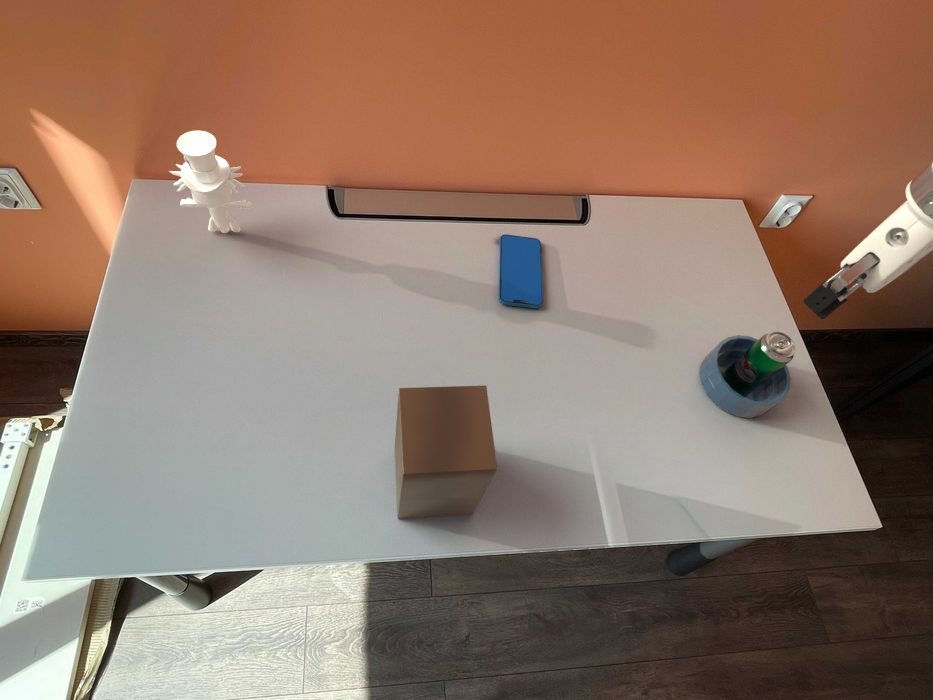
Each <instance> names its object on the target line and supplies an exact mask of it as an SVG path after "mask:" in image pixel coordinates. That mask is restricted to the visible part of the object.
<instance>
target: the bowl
mask: <svg viewBox="0 0 933 700" xmlns="http://www.w3.org/2000/svg"><path fill="white" fill-rule="evenodd" d="M758 340H759V338H755V337H752V336H750V335H749V336H748V335H732V336H727V337H726V338H724V339H723V340H721V341H720V342H718V344H716V346H715V347H713V348H712V350H711V351H710V352H709V353H708V354H706V356H705V357H704V359H702V362H701V364H700V368H699V378H700V383H701V385H702V388H703V389H704V392H705V393H706V395H707V397H708V398H709V399H710V400H711V401H712V402H713V403H714V404H715V405H716V406H717V407H719V408H720V409H721V410H723V411H725V412H726V413H728V414H731V415H733V416H735V417H739V418H749V419H752V418H756V417H761V416H763V415H764V414H765V413H767V412H768V411H769V410H771V409H773V408H774V407H775V406H777V405H778V404H779V403H780V402H782V401H783V400H785V399H786V398H787V396H788V394H789V392H790V391H791V381H792V378H791V374H790V371H789V368H788V365H787V364H786V365H785V366H784V367H782V368H781V369H780V370H779V371H777V372H776V373H775V374H774V375H772V376H771V377H770V378H769V379H767V380H766V381H765V382H764V383H762V384H761V385H760V386H759V387H757V388H756V389H755V390H754V391H752V392H751V393H750V394H747V395H740V394H738V393H737V392H735V391H734V390H733V389H732V388H731V387H730V386H729V385H728V384H727V383H726V382H725V381H724V378H723V375H724V372H725V370H726V369H728V368H729V367H730V366H731V365H732V364H733V363H734V362H735V361H736V360H737V359H738V358H739V357H741V356H742V355H743V354H744V353H745V352H746V351H747V350H748V349H749V348H750V347H751V346H752V345H754V344H755V343H756V342H757V341H758Z"/></svg>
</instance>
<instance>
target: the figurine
mask: <svg viewBox="0 0 933 700" xmlns="http://www.w3.org/2000/svg"><path fill="white" fill-rule="evenodd" d="M176 148H177V151H179V152H180V154H182V156H183V160H184V162H183V163H182V165H181V164H179V163H176V164H175V166H176V167H177V168H179V169H180V170H175V171H173V170H168V172H169V173H170V174H171V175H173V176H176V177H180V178H179V179H178V180H177V181H175V182H174V183H173V186H174V187H179V188H178V189H177V190H176V192H178V193H179V192H182V191H183V190H185V189H186V188H189V189H190V193H191V197H192V198H190V197H187V198H186V199H184V198H181V200H180V202H179V206H180V207H181V208H189V209H193V208H207V209H208V211H209V214H210V218H209V221H208V228H207V229H208V231H209V232H212V233H214V232H217V231H218V230H220V232H221V233H222V234H228V233H229V231H230V230H231V231H232V232H234V233H239V232H241V230H242V229H241V228H240V226H239V224H238V223H237V222H236V221H235V220H234V219H233V217H231V216H230V213H229V209H236V210H251V209H252V206H253V205H252V201H248V200H247V199H246V198H245V199H242V200H233V201H231V200H232V196H233V192H234V193H235V194H240V193H239V191H238V190H237V189H236V188H237V186H238V187H241V188H244V187H246V185H245V184H244V183H242V182H241V181H240V180H237V179H236V178H240V177H241V176H242V177H243V175H244V173H242V172H240V173H239V172H237V171H240V169H242V166H241V165H240V166H232V167H231V166H230V164H229V162H228V161H227V160H226V159H225V158H223V157H221V156H219V155H216V148H217V139H216V137H215V135H213V134H212V133H211V132H208V131H205V130H199V129H198V130H197V129H196V130H190V131H187V132H185V133H183V134H181V135H180V136H179V137H178V138H177V140H176ZM228 208H229V209H228Z"/></svg>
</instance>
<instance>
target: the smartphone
mask: <svg viewBox="0 0 933 700" xmlns="http://www.w3.org/2000/svg"><path fill="white" fill-rule="evenodd" d="M498 253H499V254H498V255H499V261H498V262H499V263H498V301H499V303H500V304H501V305H504V306H512V307H520V308H521V307H522V308H530V309H540V308H542V306H543V304H544V290H543V288H544V287H543V266H542V265H543V261H542V260H543V259H542V241H541V240H540V239H539V238H537V237H530V236H521V235H513V234H506V233H505V234H502V235H500V237H499V252H498Z"/></svg>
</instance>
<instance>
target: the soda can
mask: <svg viewBox="0 0 933 700" xmlns="http://www.w3.org/2000/svg"><path fill="white" fill-rule="evenodd" d="M796 351H797V347H796V344H795V342H794V340H793V339H792V337H790V336H789V335H788V334H786V333H784V332H781V331H771V332H768V333H765V334H763V335H762V336H761V337H760V338H758V341H757V342H756V343H755V344H754V345H752V346H751V347H750V348H749V349H748V350H747V351H746V352H745V353H744V354H743V355H742V356H741V357H739V358H738V359H737V360H736V361H735V362H734V363H733V364H732V365H731V366H730V367H729V368H728V369H726V370H725V372H724V375H723V378H724V381H725V382H726V383H727V384H728V385H729V386H730V387H731V388H732V389H733V390H734V391H735V392H737V393H738V394H740V395H747V394H750V393H751V392H752V391H754V390H755V389H756V388H757V387H759V386H760V385H761V384H762V383H764V382H765V381H766V380H767V379H769V378H770V377H771V376H772V375H774V374H775V373H776V372H777V371H779V370H780V369H781V368H782V367H784V366H785V365H786V366H787V364H789V363H791V362H792V360H793V359H794V356H795V354H796Z"/></svg>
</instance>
